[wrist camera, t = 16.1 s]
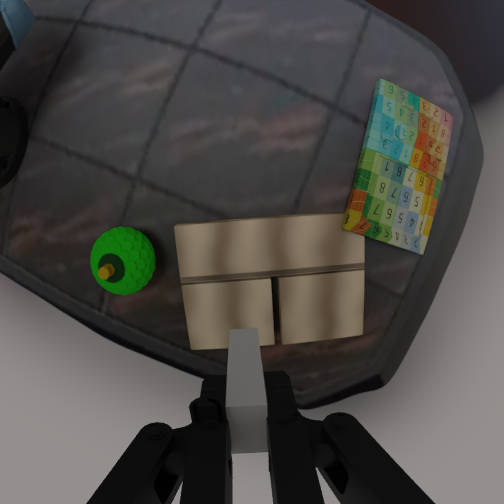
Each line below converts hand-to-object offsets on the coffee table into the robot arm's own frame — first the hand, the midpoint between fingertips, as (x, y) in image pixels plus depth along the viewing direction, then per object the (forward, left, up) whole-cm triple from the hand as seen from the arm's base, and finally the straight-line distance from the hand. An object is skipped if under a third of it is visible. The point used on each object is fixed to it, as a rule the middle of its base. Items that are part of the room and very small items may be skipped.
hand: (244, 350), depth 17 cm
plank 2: (+10, -7, -24) cm, 27 cm away
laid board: (+3, +1, -24) cm, 24 cm away
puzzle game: (+21, +11, -24) cm, 33 cm away
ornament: (-14, +2, -24) cm, 28 cm away
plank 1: (-2, -7, -24) cm, 25 cm away
